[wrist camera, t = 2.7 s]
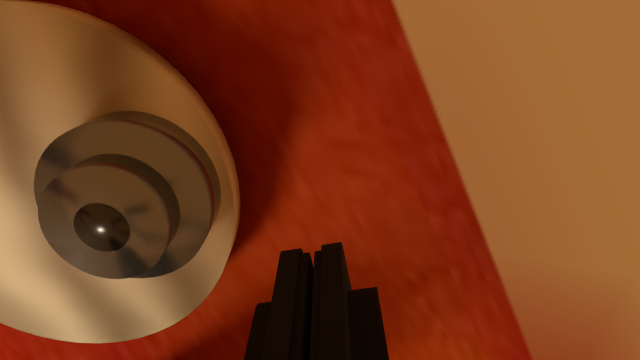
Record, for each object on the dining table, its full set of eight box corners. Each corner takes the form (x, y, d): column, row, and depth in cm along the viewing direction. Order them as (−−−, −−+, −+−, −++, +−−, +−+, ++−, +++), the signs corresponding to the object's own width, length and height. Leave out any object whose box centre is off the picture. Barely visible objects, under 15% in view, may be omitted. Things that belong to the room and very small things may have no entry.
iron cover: (192, 96, 21) (157, 120, 17) (239, 241, 25) (220, 291, 20) (35, 126, 22) (-36, 156, 18) (102, 262, 25) (56, 314, 21)
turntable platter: (173, -42, 20) (157, -46, 18) (276, 301, 29) (271, 322, 27) (-202, 44, 22) (-251, 48, 20) (-2, 339, 31) (-23, 361, 29)
